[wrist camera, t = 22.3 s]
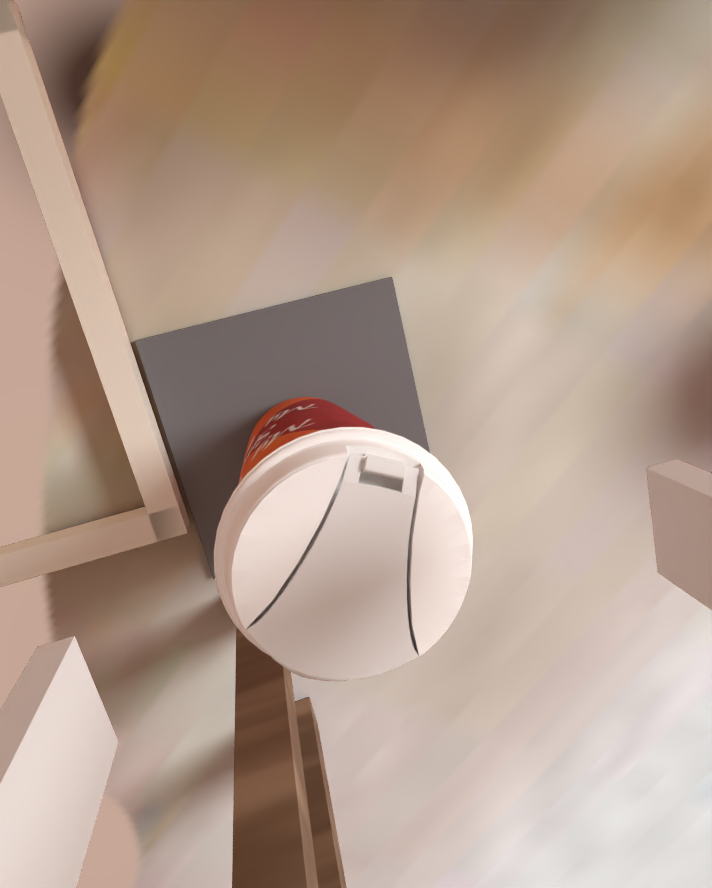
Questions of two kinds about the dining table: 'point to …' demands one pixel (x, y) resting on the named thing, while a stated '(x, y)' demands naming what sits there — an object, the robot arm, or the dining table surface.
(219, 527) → the coffee cup
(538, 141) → the dining table surface
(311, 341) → the coaster
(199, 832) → the dining table surface
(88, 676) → the robot arm
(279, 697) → the small wooden stool
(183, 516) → the frame
